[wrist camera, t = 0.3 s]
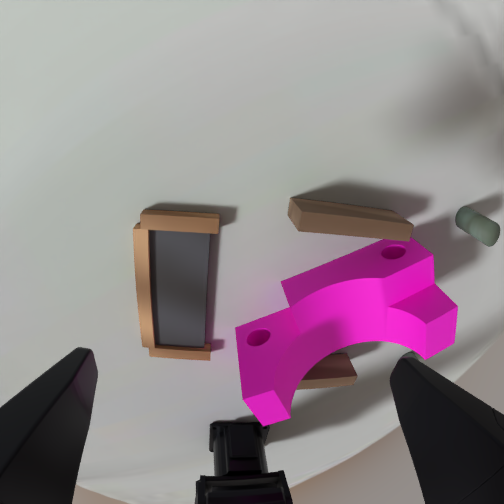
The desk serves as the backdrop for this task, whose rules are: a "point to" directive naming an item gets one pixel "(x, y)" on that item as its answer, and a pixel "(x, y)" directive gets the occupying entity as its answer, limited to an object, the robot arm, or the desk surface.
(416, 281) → the magenta curved bracket
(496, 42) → the desk surface
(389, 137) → the desk surface
